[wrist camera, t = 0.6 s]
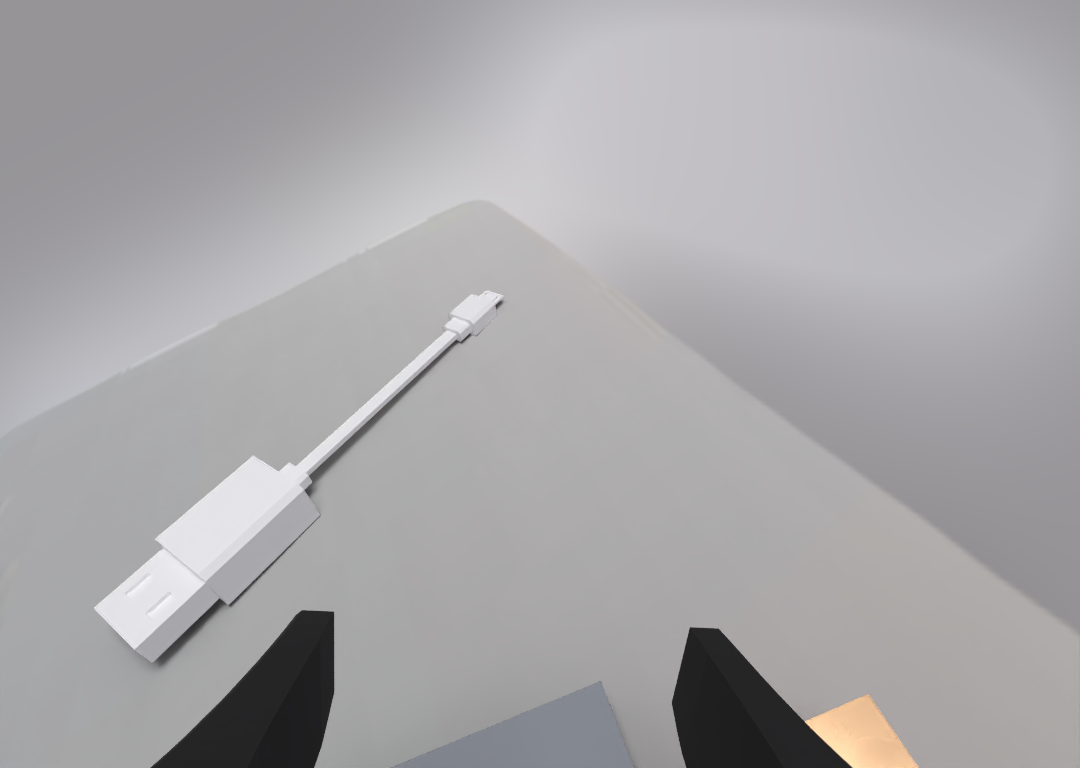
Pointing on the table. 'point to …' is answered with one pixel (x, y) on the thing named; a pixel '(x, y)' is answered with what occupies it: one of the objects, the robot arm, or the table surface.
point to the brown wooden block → (862, 736)
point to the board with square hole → (541, 739)
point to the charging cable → (247, 521)
